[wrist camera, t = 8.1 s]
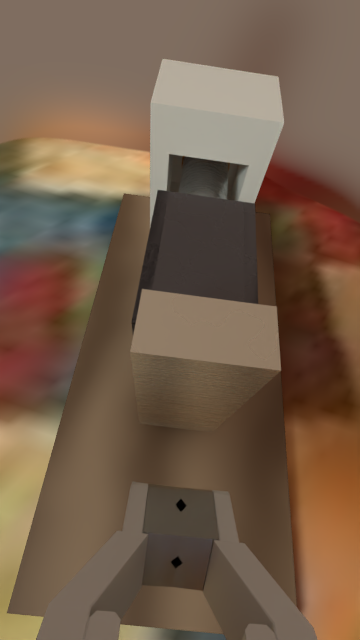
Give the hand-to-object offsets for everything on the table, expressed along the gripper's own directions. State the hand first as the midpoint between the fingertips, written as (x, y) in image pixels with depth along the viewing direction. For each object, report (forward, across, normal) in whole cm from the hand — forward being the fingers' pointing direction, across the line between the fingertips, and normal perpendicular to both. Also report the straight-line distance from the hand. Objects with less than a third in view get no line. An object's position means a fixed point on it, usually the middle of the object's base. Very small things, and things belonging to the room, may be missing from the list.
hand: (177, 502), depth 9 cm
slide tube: (+13, 0, -4) cm, 14 cm away
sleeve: (+12, 0, -2) cm, 13 cm away
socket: (+20, 0, -9) cm, 21 cm away
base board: (+12, 0, 0) cm, 12 cm away
